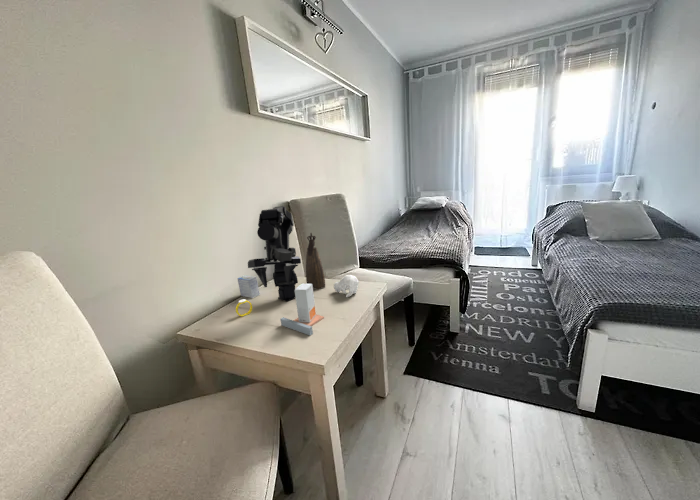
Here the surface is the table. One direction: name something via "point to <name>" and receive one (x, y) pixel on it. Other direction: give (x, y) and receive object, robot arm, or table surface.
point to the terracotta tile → (313, 321)
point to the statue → (314, 266)
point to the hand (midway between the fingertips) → (277, 285)
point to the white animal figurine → (347, 285)
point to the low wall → (296, 326)
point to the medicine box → (248, 286)
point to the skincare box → (305, 303)
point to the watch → (242, 303)
